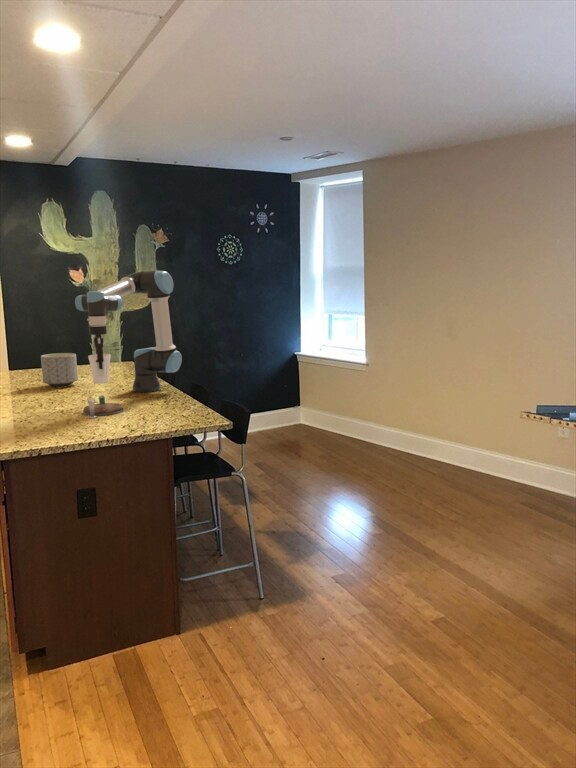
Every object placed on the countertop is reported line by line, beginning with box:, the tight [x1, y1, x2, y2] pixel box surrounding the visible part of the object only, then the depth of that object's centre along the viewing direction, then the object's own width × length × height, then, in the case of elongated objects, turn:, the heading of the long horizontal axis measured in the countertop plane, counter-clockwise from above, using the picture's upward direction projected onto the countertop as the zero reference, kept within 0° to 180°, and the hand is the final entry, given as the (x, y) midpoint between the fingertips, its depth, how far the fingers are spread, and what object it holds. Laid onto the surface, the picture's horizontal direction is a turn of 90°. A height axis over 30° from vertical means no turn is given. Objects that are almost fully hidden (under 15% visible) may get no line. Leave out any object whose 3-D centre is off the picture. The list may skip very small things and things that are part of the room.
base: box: [82, 407, 124, 417], centre depth 282 cm, size 18×18×1 cm
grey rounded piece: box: [87, 396, 98, 419], centre depth 269 cm, size 4×4×9 cm
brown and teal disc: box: [83, 395, 123, 414], centre depth 283 cm, size 17×22×4 cm
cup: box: [87, 353, 112, 385], centre depth 278 cm, size 10×10×13 cm
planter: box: [40, 352, 79, 388], centre depth 351 cm, size 19×19×18 cm
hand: (100, 374), depth 279 cm, fingers closed on cup, 9 cm apart
